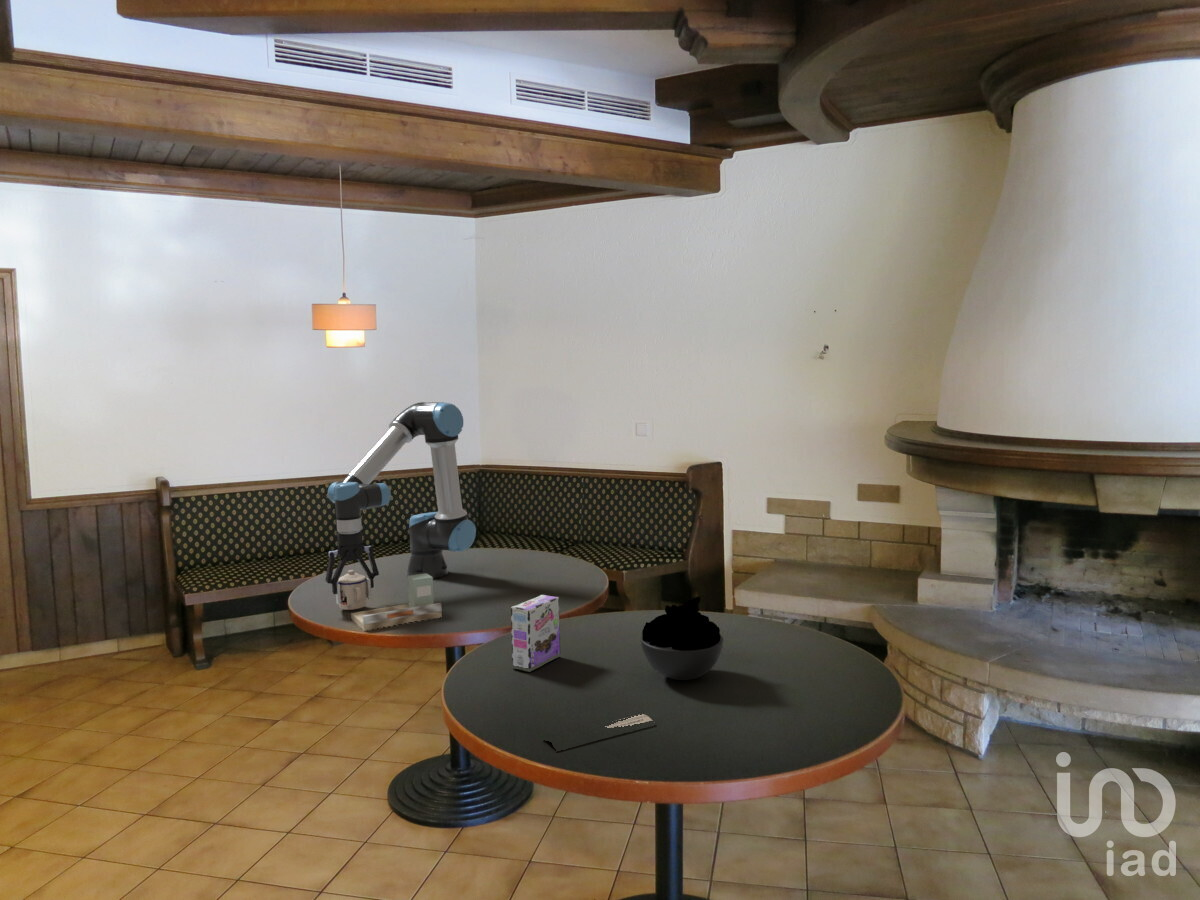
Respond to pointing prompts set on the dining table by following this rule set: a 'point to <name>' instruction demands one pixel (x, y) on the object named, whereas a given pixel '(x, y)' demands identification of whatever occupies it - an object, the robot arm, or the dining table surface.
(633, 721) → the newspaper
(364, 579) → the teacup with lid
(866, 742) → the dining table surface
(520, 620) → the candy box
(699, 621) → the bowl of black rocks
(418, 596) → the tin
